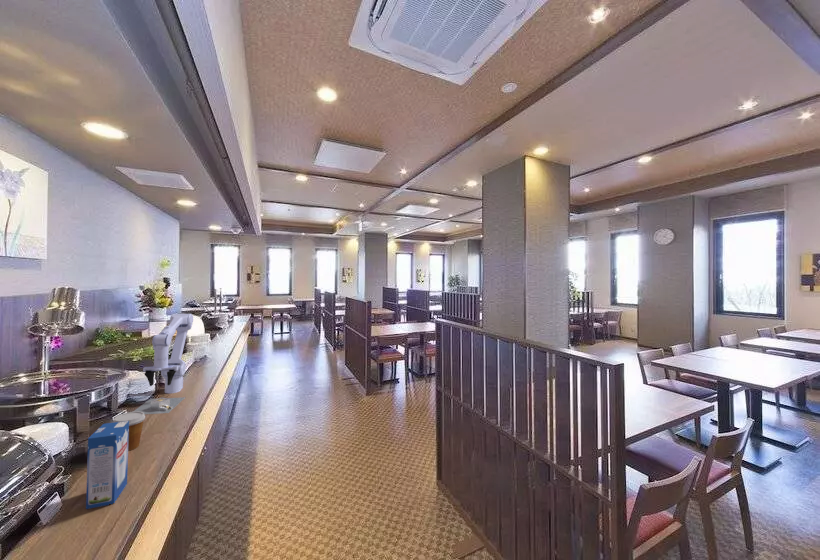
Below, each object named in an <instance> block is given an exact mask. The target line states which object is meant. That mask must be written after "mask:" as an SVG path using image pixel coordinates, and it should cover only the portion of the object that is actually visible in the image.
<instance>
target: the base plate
mask: <svg viewBox="0 0 820 560" xmlns="http://www.w3.org/2000/svg"><path fill="white" fill-rule="evenodd" d="M155 399H156V398H149V399H148V400H147V401H145V402H144V403H143V404H141V405H140V406H138V407H137V408H136V409H135V410H134V411H132V412H137V411H138V412H143V413H144V415H157V414H158V415H159V414H169V413H170V412H172V410H174V409H175V408H176V407H178V405H179V404H180V403H181V402H182V401H183V400H185V399H186V396H185V397H169V399H170V406H173V409H169V406H166V408H168V411H162V410H160V411H156V410H151V401H153V400H155ZM158 401H162V400H158Z"/></svg>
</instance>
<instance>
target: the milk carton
mask: <svg viewBox="0 0 820 560" xmlns="http://www.w3.org/2000/svg"><path fill="white" fill-rule="evenodd" d="M128 440H129V421H123V422H114V423H112V422H106V423H103V424H101V426H99V427H98V429H96V430H95V431H94V432H93V433H92V434H91V435H90V436H89V437H88V438H87V457H86V458H87V461H86V463H87V464H86V465H87V467H86V492H85V493H86V495H85V509H86V510H89V509H93V508H100V507H105V506H109V504H111V505H114V504H115V503H116V502H115V501H117V500H118V499H119V497H120V496H119V495H121V494H122V493H123V491H124V489H125V488H126V487H127V485H128V468H129V467H128V466H129V465H128V464H129V463H128V462H129V451H128ZM117 498H118V499H117ZM113 503H114V504H113Z"/></svg>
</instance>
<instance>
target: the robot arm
mask: <svg viewBox="0 0 820 560" xmlns="http://www.w3.org/2000/svg"><path fill="white" fill-rule="evenodd" d="M169 318H170V319H169V324H168V325H165V326H164V327H163V328H162V329H161V331H160V332H159V333H157V334H156V335H154V336H153V337H152V341H151V343H152V344H151V345H152V349H153V351H154V353H153V355H154V356H153V357H154V358H153V366H144V367H143V368H142V372H143V373H144V372H145V373H144V376H145V377H146V379H147V381H148V384H149V387H153V386H154V383H155V382H154V381H155V380H154V379H155V378H154V377H155V372H160V374H161V377H163V379H164V393H165V394H168V395H169V394H170V395H171V394H176V393H179V392H181V390H182V389H184V377H183V376H184V375H185V373H186V366H187V365H186V364H187V363H186V362H185V361H184V360H183V359H182V356H183V351H184V347H185V344H186V339H187V335H188V332H189V331H190V330H192V326H193V324H194V323H193V322H194V316H193V314H192V313H172V314H171V315H170V317H169ZM175 334H176V335H175ZM174 335H175V339H174V343H173V346H172V351H171V354H170V355H171V356H170V358H169V351H170V350H169V348H170V345H171V343H172V339H173V337H174Z"/></svg>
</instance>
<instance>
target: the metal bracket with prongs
mask: <svg viewBox="0 0 820 560" xmlns="http://www.w3.org/2000/svg"><path fill="white" fill-rule="evenodd" d="M169 398H170V397H169ZM169 398H167V397H159V398H154V399H155V400H153V401H151V410H156V411H160V410H162V411H168V408H166V406H169V409H172V410H174V409H173V406H170V399H169ZM158 400H162V401H158Z"/></svg>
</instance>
